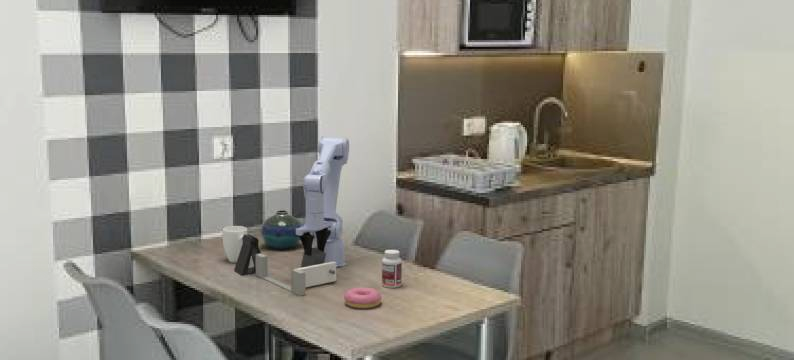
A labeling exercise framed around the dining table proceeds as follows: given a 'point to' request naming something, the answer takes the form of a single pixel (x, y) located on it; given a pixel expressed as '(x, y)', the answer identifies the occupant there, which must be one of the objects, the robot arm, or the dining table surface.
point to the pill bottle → (391, 269)
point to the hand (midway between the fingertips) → (314, 253)
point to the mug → (233, 241)
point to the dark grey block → (313, 258)
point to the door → (319, 273)
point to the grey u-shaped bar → (296, 281)
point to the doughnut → (362, 297)
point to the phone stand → (247, 255)
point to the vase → (280, 230)
